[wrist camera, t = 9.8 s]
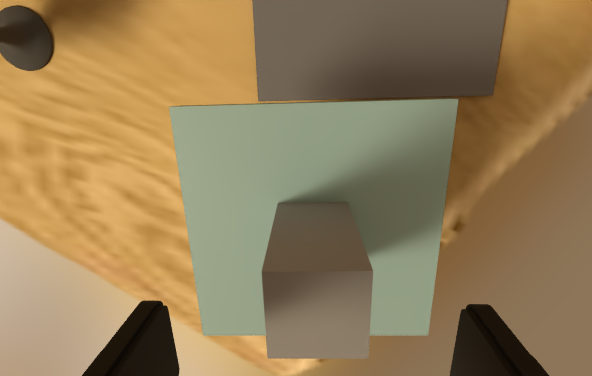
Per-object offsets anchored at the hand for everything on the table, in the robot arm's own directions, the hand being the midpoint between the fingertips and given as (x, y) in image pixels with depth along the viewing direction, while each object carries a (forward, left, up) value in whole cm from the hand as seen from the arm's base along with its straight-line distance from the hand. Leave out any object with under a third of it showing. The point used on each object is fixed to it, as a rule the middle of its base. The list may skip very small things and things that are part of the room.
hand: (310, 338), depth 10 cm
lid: (0, 0, -10) cm, 10 cm away
